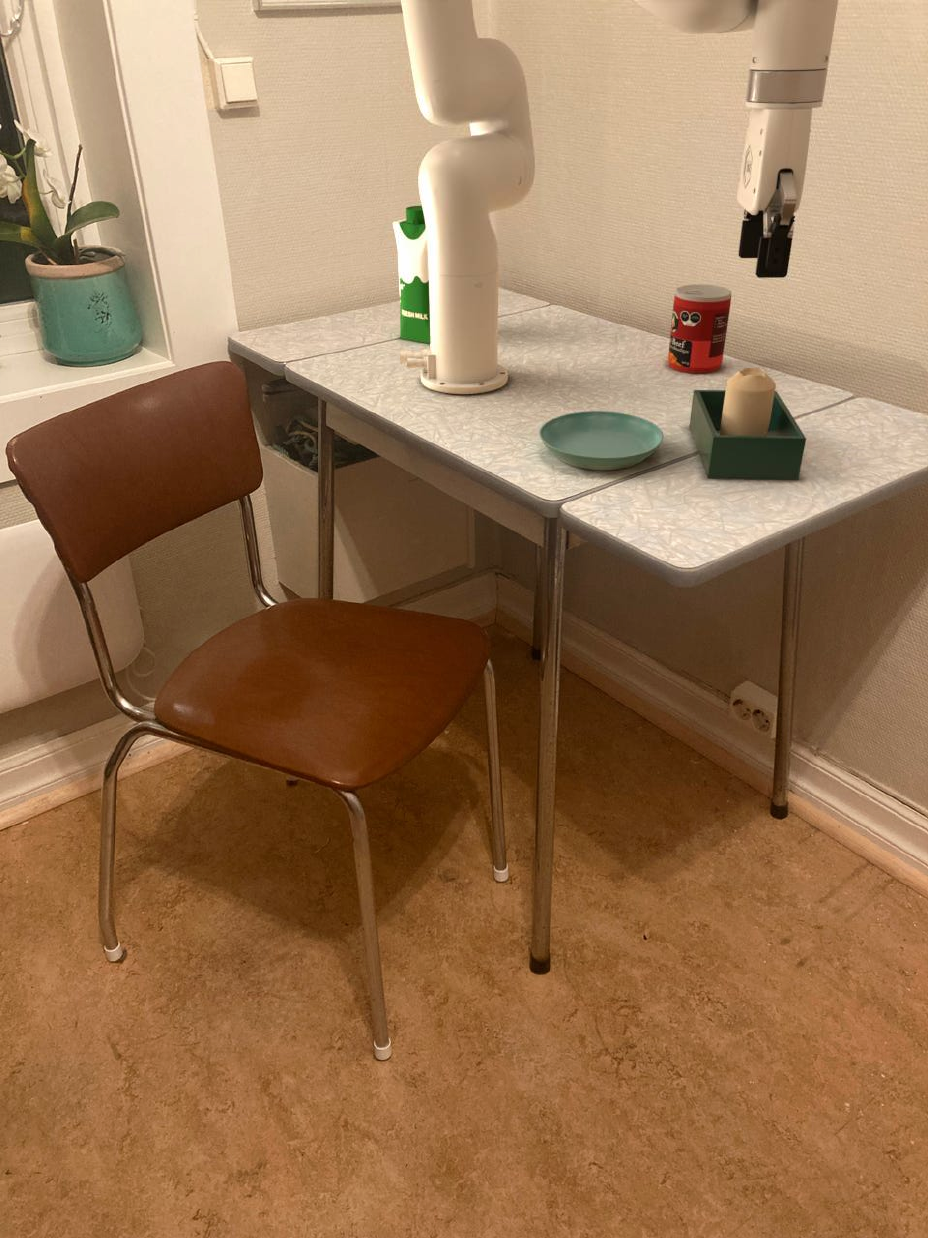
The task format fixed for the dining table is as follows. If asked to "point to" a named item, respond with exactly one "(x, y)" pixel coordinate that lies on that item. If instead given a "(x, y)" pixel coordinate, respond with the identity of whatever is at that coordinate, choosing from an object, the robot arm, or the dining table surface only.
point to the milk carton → (413, 276)
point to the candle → (748, 403)
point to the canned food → (699, 328)
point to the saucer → (601, 439)
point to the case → (746, 442)
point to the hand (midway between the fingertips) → (761, 266)
